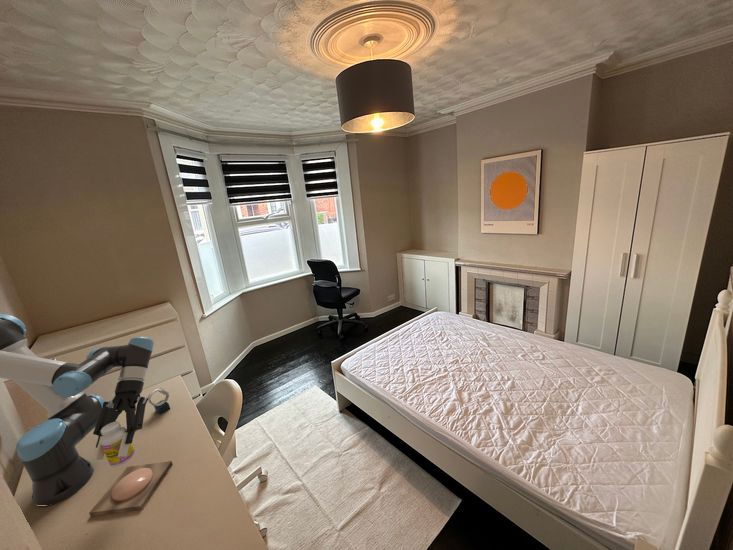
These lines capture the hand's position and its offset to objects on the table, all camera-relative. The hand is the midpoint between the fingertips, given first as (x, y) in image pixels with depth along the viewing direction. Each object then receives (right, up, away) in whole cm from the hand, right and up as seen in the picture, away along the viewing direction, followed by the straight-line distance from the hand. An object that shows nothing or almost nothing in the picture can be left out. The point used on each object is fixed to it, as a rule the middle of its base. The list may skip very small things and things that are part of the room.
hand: (110, 457), depth 91 cm
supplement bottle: (0, -3, +5) cm, 6 cm away
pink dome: (+1, -14, +7) cm, 16 cm away
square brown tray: (+2, -15, +8) cm, 17 cm away
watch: (-16, -7, +47) cm, 50 cm away
